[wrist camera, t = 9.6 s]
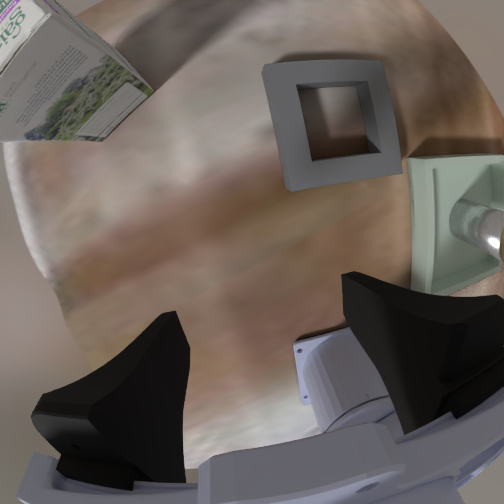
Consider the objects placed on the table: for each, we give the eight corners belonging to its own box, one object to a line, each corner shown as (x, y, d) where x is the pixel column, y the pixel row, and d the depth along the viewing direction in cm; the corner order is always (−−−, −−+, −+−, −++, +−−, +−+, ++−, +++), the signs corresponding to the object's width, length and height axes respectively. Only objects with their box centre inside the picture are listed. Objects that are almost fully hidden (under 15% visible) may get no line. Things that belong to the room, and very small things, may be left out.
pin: (473, 232, 22) (527, 258, 15) (449, 242, 22) (505, 273, 15) (472, 195, 21) (530, 214, 13) (447, 203, 21) (509, 225, 14)
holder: (389, 171, 20) (402, 173, 18) (285, 188, 20) (291, 191, 18) (369, 67, 17) (381, 60, 15) (261, 72, 17) (264, 64, 15)
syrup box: (117, 49, 15) (9, -36, 2) (158, 93, 17) (47, 7, 4) (67, 99, 16) (-70, 74, 3) (103, 146, 18) (-49, 153, 4)
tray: (487, 262, 24) (501, 270, 22) (410, 293, 24) (423, 305, 22) (490, 153, 20) (506, 155, 18) (406, 157, 20) (424, 159, 18)
